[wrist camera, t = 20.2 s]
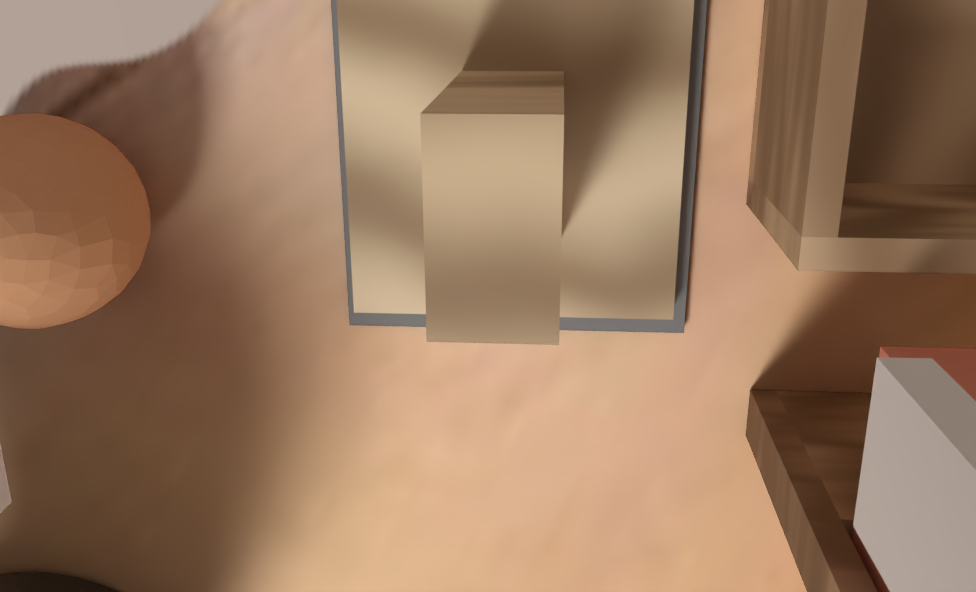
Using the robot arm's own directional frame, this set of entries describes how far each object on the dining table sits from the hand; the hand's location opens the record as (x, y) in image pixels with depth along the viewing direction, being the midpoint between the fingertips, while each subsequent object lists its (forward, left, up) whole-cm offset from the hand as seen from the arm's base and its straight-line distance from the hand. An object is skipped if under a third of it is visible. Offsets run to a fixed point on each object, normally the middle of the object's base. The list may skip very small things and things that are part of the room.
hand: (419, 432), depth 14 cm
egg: (-16, -2, -22) cm, 27 cm away
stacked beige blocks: (0, +4, -22) cm, 22 cm away
